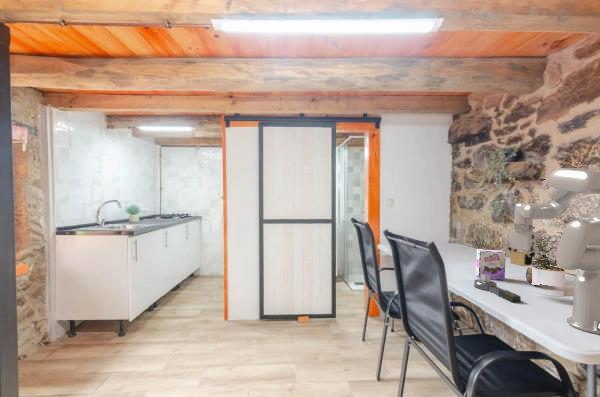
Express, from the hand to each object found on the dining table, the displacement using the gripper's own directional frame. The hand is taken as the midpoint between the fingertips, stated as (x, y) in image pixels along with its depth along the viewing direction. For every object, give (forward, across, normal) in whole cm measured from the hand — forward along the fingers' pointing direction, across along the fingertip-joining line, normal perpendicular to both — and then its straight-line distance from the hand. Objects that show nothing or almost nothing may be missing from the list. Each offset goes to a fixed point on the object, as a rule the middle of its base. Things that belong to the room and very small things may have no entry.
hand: (521, 262), depth 150 cm
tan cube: (+1, 0, 0) cm, 1 cm away
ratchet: (+16, +4, +11) cm, 20 cm away
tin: (+16, +8, -24) cm, 30 cm away
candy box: (+16, +24, -11) cm, 31 cm away
